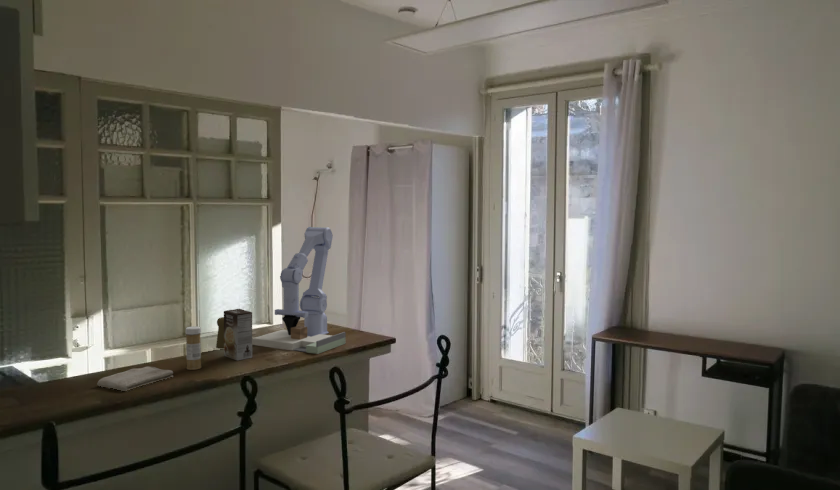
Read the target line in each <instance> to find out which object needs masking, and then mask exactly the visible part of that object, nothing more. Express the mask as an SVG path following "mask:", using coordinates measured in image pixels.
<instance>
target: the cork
mask: <svg viewBox="0 0 840 490" xmlns="http://www.w3.org/2000/svg"><path fill="white" fill-rule="evenodd" d="M216 326H217V327H218V328H217V335H216V344H215V347H216V349H219V350H220V349H221V350H222V349H223V350H224V316H223V317H222V316H221V317H218V318H217V320H216Z"/></svg>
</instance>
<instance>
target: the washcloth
mask: <svg viewBox="0 0 840 490" xmlns="http://www.w3.org/2000/svg"><path fill="white" fill-rule="evenodd" d="M173 374H174V372H173V370H171V369H160V368H158V367H155V366H144V367H138V368H131V369H128V370H126V371H123V372H122V371H121V372H118V373H115V374H112V375H108V376H103V377H102V378H100V379H99V380H98V381H97V383H96V385H97V386H99V387H100V386H101V387H100V388H103V387H108V388H107V389H110V388H113V389H112V390H114V389H117V390H121V391H120V392H122V391H127V390H130V389H133V388H136V387H139V386H142V385H146V384H149V383H152V384H154V383H153V382H156V381H159V380H162V381H164V380H163V379H165V380H168V379H167V378H169V379H171V378H170V377H172V378H174V375H173ZM159 382H160V381H159ZM156 383H157V382H156ZM149 385H150V384H149ZM146 386H147V385H146ZM139 388H140V387H139ZM117 390H116V391H117ZM133 390H134V389H133ZM130 391H131V390H130ZM127 392H128V391H127Z"/></svg>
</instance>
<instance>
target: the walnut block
mask: <svg viewBox="0 0 840 490" xmlns="http://www.w3.org/2000/svg"><path fill="white" fill-rule="evenodd" d="M291 338H292V339H304V338H307V327H304V326H302V325H297V326H296V327H292V328H291Z"/></svg>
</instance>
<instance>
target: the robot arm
mask: <svg viewBox="0 0 840 490" xmlns="http://www.w3.org/2000/svg"><path fill="white" fill-rule="evenodd" d="M303 236H304V241H303V244H302V245H301V248H300V250H299V251H298V252H297V253H295V254H294V255H293V256H292V258H291V260H290V262H289V264H288V265H287V267H284V268H283V269H282V270H281V271H280V276H279V279H280V282H281V287H282V288H283V309H282V308H281V309H280V308H278V309H274V315H275V316H283V317H281V320H282V322H283V324H285V327H286V330H287V331H288V335H291V328H292V327H296V326H298V324H299V321H300V319H301V318H303V319H304V320H303V321H304V324H303V325H304V327H307V336H310V337H312V336H315V335H318V334H323V335H328V334H329V333H330V332H329V331H328V316H327V314H326V313H325V312H326V310H327V308H328V303H327V302H328V301H327V299H328V295H327V294H326V293H325V291H323V286H324V281H325V280H324V279H325V273H326V268H327V263H328V255H329V250H331V247H332V244H333V243H332V242H333V232H332V229H331V228H330V227H329V226H328V227H313V226H308V227H306V230H305V232H304V235H303ZM312 250H314V251H315V253H314V258H313V263H312V264H313V265H312V269H311V276H310V280H309V285H308V286H309V287H308V288H307V289H306V290H304V291H303V292H302V296H301V299H300V297H299V296H300V288H299V287H300V285H299V284H300V283H301V281H302V279H303V273H304V269H305V268H306V266H307V264H308V261H309V260H308V256H309V255H310V253H311V252H312Z"/></svg>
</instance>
